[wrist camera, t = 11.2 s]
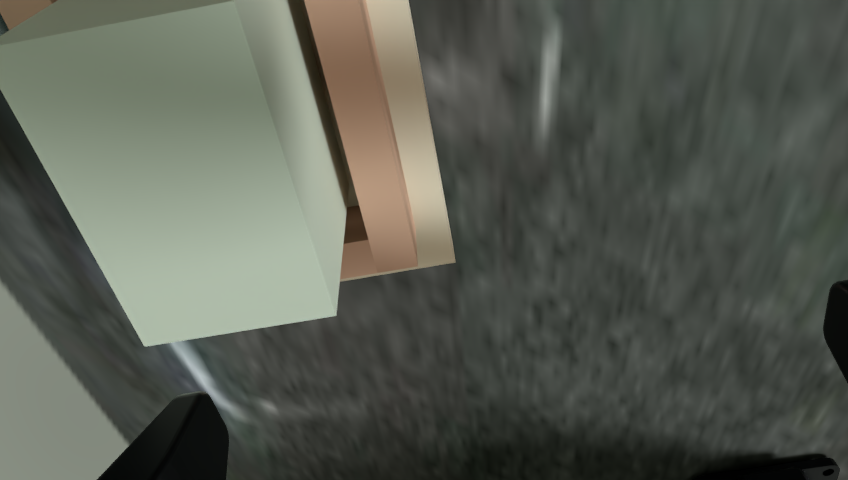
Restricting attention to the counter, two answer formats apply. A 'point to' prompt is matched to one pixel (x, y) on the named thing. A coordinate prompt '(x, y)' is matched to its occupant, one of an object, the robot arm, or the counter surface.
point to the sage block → (188, 156)
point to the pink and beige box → (369, 131)
